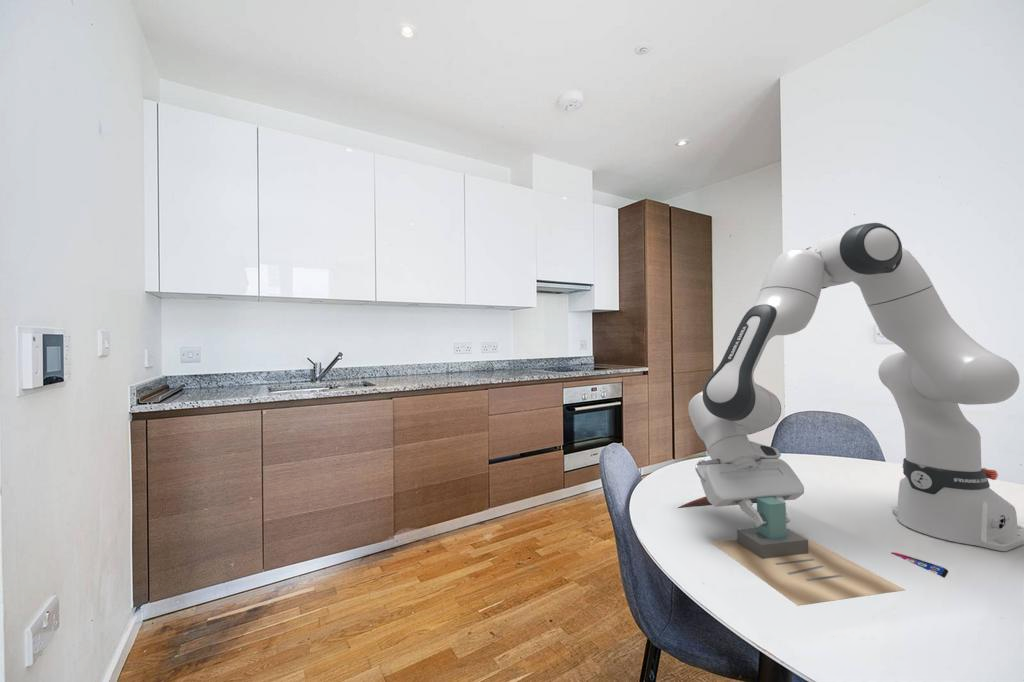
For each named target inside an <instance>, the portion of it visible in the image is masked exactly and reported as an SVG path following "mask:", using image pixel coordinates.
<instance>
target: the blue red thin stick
mask: <svg viewBox="0 0 1024 682" xmlns="http://www.w3.org/2000/svg"><path fill="white" fill-rule="evenodd" d="M890 554H891V555H894V556H896V557H898V558H900V559H902V560H905V561H907V562H909V563H911V564H913V565H916V566H918V567H920V568H921V569H924V570H925V571H929V572H931V573H933V574H935V575H937V576H939V577H942V578H945V577H946V576H947V574H948V573H949V570H948V569H947V568H946V567H944V566H941V565H937V564H935V563H930V562H927V561H926V560H921V559H918V558H915V557H912V556H908V555H906V554H902V553H899V552H890Z"/></svg>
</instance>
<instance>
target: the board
mask: <svg viewBox="0 0 1024 682" xmlns="http://www.w3.org/2000/svg"><path fill="white" fill-rule="evenodd" d="M795 533H796V534H798V535H800V536H802V537H804V538H806V539H808V553H806V554H798V555H789V556H781V557H772V558H764V559H762V558H760V557H759V556H757V555H755V554H754V553H752V552H751V551H749V550H748V549H746V548H745V547H743V546H742V545H740V544H739V543H737V539H730V540H721V541H712V542H710V543H711V544H712V545H714V546H715V547H717V548H718V549H719V550H721V551H722V552H723V553H725V554H727V556H729V557H730V558H732V559H733V560H735V561H736V562H737V563H739V564H740V565H741V566H743V567H744V568H745V569H747V570H748V571H750V572H751V573H753V574H754V575H755V576H756V577H758V578H759V579H760V580H762V581H763V582H765V583H766V584H768V586H770V587H771V588H773V589H774V590H775V591H777V592H778V593H780V594H781V595H782V596H784V597H785V598H786V599H788V600H789V601H790V602H791V603H794V604H795V605H796V606H797V607H798V606H799V607H800V606H805V605H812V604H818V603H825V602H833V601H834V602H835V601H839V600H840V601H841V600H847V599H852V598H860V597H867V596H868V597H869V596H873V595H874V596H875V595H881V594H882V595H883V594H887V593H888V594H889V593H895V592H902V591H906V589H905V588H903V587H902V586H900V585H897V584H895V583H894V582H892V581H890V580H888V579H886V578H884V577H882V576H881V575H878V574H877V573H876V572H875V573H874V572H872V571H871V570H869V569H867V568H866V567H863V566H861V565H860V564H857V563H855V562H854V561H852V560H850V559H848V558H846V557H844V556H842V555H841V554H839V553H836V552H834V551H833V550H831V549H829V548H827V547H826V546H823V545H821V544H819V543H817V542H816V541H813V539H810V538H808V537H806V536H804V535H802V534H800V533H798V532H795Z"/></svg>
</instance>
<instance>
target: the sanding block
mask: <svg viewBox="0 0 1024 682" xmlns="http://www.w3.org/2000/svg"><path fill="white" fill-rule="evenodd" d="M786 504H787V503H786V502H785V503H784V502H782V501H780V500H778V499H776V498H773V497H767V498H757V503H756V511H757V512H758V513H759V514H764V516H765V519H767V521H768V524H767V525H765V526H760V527H758V526H756V527H753V528H752V527H751V528H743V529H740V528H739V529H736V538H737V539H736V540H737V543H739V544H740V545H742V546H743V547H745V548H746V549H748V550H749V551H751V552H752V553H754V554H755V555H757V556H759V557H760V558H762V559H764V558H772V557H781V556H789V555H798V554H806V553H808V539H809V538H808V539H806V538H807V537H806V538H804V537H805V536H804V537H802V536H803V535H802V536H800V535H801V534H800V535H798V534H799V533H798V534H796V533H797V532H794V531H792V530H790V528H787V524H786V513H787V508H786V507H787V505H786Z"/></svg>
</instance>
